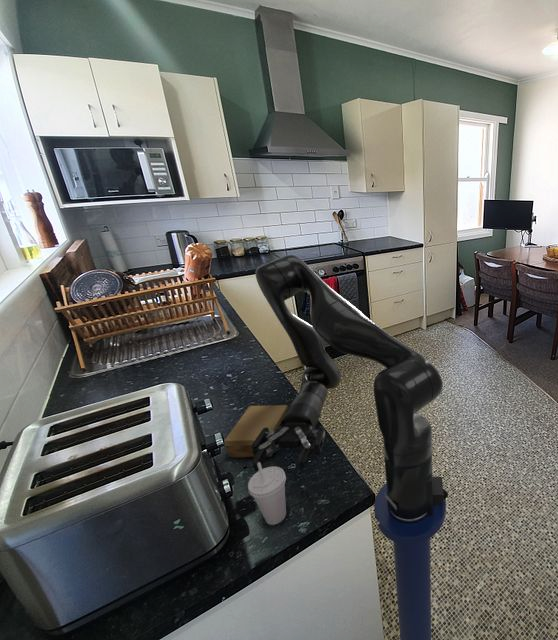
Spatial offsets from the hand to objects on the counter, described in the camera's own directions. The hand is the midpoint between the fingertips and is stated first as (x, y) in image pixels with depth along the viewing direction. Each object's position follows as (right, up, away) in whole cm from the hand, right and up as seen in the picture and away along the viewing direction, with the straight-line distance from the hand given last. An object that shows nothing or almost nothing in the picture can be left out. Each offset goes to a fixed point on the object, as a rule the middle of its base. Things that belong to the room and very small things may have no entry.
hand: (277, 467), depth 68 cm
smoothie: (0, -9, -1) cm, 9 cm away
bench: (-12, -1, +19) cm, 23 cm away
